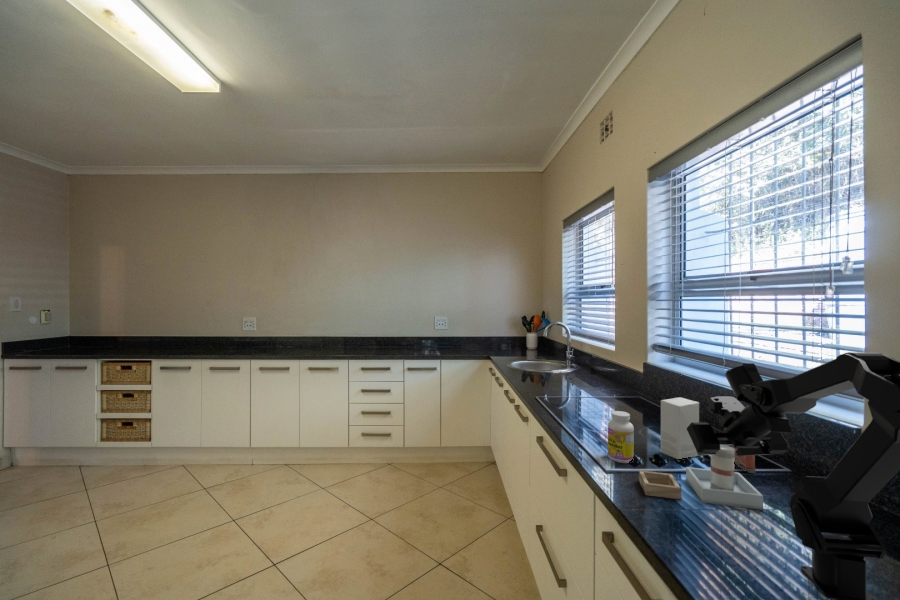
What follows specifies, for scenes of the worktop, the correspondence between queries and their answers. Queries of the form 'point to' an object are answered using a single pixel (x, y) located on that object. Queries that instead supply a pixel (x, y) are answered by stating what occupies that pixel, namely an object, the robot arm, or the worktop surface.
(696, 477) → the tray
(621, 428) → the supplement bottle
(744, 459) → the lighter
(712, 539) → the worktop surface
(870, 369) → the robot arm
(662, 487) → the holder
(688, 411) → the skincare box
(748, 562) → the worktop surface
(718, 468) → the white domed canister
